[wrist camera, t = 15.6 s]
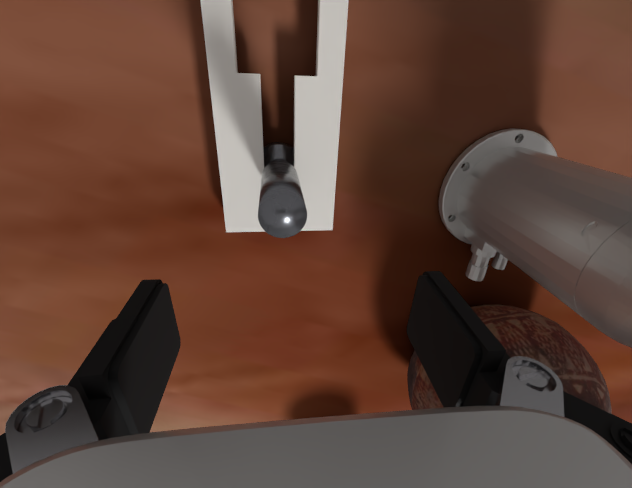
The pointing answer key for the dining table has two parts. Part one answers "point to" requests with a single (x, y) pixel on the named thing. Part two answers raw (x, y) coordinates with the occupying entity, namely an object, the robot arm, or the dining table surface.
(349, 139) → the dining table surface
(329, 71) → the keyhole plate
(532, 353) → the jug
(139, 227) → the dining table surface
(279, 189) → the peg
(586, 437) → the robot arm
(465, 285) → the dining table surface
